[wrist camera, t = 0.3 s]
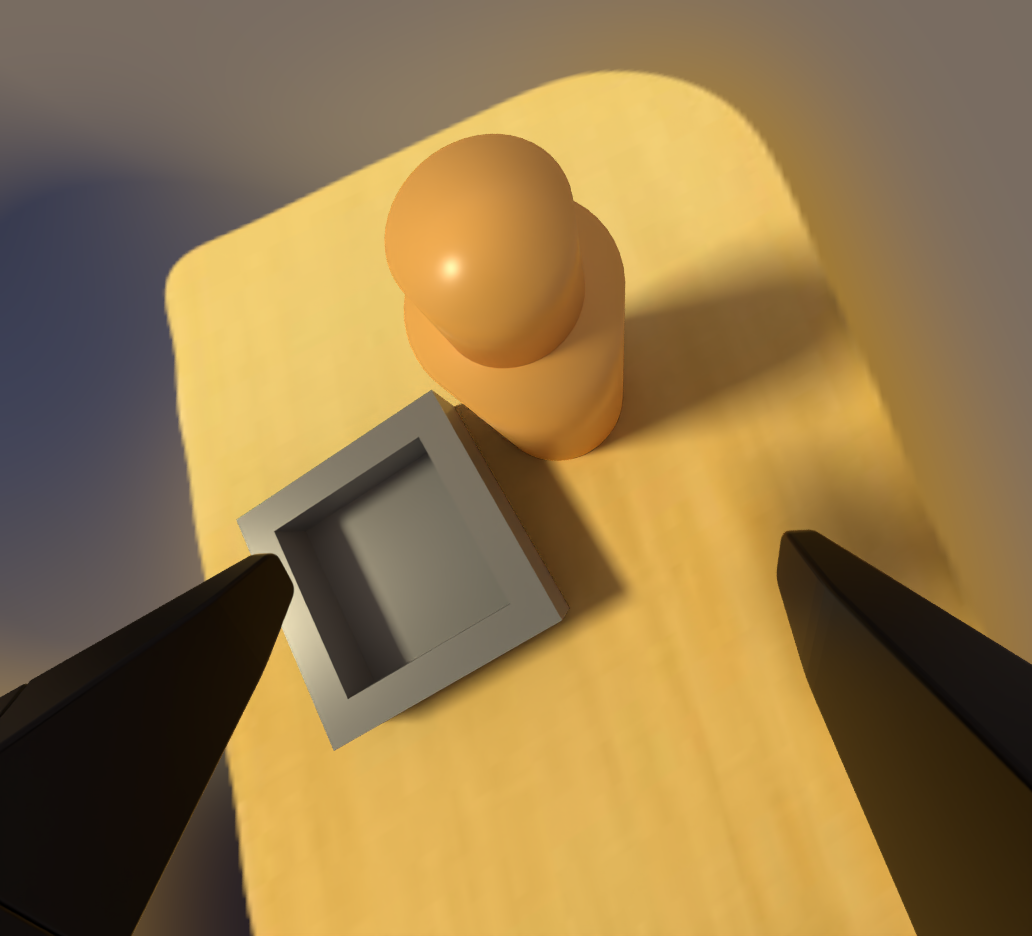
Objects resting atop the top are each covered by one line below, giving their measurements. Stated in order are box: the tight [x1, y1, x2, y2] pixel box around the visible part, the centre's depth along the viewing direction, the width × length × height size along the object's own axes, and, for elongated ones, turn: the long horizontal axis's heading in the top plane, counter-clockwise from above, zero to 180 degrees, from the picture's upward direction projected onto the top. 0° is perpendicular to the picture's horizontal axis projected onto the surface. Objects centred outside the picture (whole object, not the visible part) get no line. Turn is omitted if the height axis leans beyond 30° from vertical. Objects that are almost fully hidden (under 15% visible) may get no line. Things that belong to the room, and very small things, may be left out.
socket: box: [237, 390, 570, 751], centre depth 21 cm, size 11×11×3 cm
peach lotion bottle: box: [385, 134, 625, 461], centre depth 16 cm, size 6×6×13 cm
